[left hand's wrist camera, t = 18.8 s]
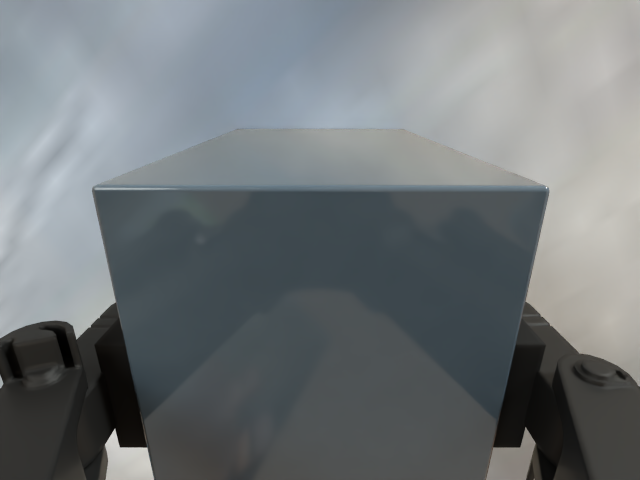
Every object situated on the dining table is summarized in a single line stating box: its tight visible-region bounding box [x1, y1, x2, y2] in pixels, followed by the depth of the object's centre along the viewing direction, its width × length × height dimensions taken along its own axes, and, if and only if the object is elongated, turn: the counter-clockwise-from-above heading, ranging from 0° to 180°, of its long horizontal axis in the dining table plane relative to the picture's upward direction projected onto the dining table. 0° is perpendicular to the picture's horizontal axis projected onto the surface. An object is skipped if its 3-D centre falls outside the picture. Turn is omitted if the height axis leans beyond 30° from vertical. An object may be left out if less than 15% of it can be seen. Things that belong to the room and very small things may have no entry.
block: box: [92, 129, 549, 480], centre depth 13 cm, size 7×9×11 cm
